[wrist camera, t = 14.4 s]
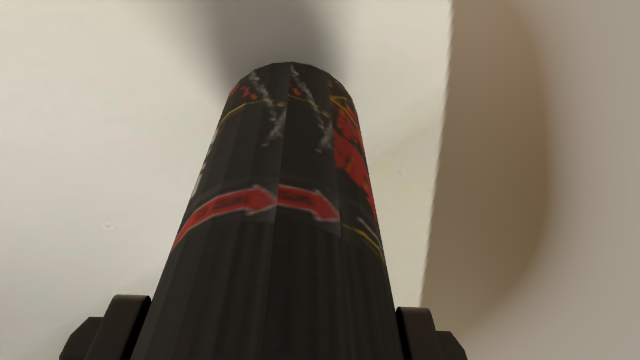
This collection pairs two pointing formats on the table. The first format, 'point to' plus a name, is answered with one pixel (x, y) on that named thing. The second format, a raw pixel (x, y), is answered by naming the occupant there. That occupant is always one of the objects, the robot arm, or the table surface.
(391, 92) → the table surface
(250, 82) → the deodorant
